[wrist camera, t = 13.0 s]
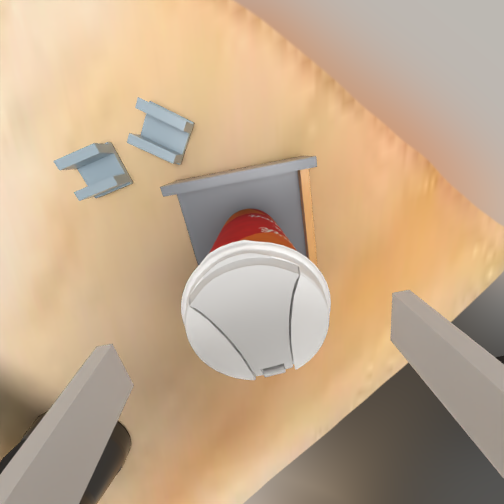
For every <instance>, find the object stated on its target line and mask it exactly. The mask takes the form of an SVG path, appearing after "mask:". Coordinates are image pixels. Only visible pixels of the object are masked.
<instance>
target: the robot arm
mask: <svg viewBox="0 0 504 504" xmlns="http://www.w3.org/2000/svg"><path fill="white" fill-rule="evenodd" d="M391 341H392V342H393V344H394V345H395V346H396V347H397V349H398V350H399V351H400V352H401V353H402V355H403V356H404V357H405V358H406V360H407V361H408V362H409V363H410V364H411V366H412V367H413V368H414V369H415V370H416V372H417V373H418V374H419V375H420V377H421V378H422V379H423V380H424V382H425V383H426V384H427V385H428V386H429V388H430V389H431V390H432V391H433V393H434V394H435V395H436V396H437V397H438V399H439V400H440V401H441V402H442V403H443V405H444V406H445V407H446V408H447V410H448V411H449V412H450V413H451V415H452V416H453V417H454V418H455V419H456V421H457V422H458V423H459V424H460V426H461V427H462V428H463V429H464V430H465V432H466V433H467V434H468V435H469V436H470V438H471V439H472V440H473V441H474V443H475V444H476V445H477V446H478V448H479V449H480V450H481V451H482V452H483V454H484V455H485V456H486V457H487V459H488V460H489V461H490V462H491V463H492V465H493V466H494V467H495V468H496V469H497V471H498V472H499V473H500V474H501V476H502V477H503V478H504V356H500V357H494V356H492V355H491V354H490V353H489V352H487V351H486V350H485V349H484V348H482V347H481V346H480V345H478V344H477V343H476V342H475V341H473V340H472V339H470V337H468V336H467V335H466V334H465V333H463V332H462V331H461V330H460V329H458V328H457V327H456V326H454V325H453V324H452V323H451V322H449V321H448V320H447V319H446V318H444V317H443V316H442V315H441V314H439V313H438V312H437V311H435V310H434V309H433V308H432V307H430V306H429V305H428V304H427V303H425V302H424V301H423V300H422V299H420V298H419V297H418V296H416V295H415V294H414V293H413V292H411V291H410V290H406V291H401V292H395V293H392V317H391ZM133 386H134V385H133V383H132V381H131V379H130V377H129V375H128V373H127V371H126V369H125V367H124V365H123V363H122V361H121V359H120V357H119V356H118V354H117V352H116V350H115V348H114V346H113V344H109V345H103V346H98V347H96V348H95V349H94V351H93V352H92V353H91V355H90V356H89V357H88V359H87V360H86V361H85V363H84V364H83V365H82V367H81V368H80V369H79V371H78V372H77V373H76V375H75V376H74V377H73V379H72V380H71V381H70V383H69V384H68V385H67V387H66V388H65V389H64V391H63V392H62V393H61V395H60V396H59V397H58V399H57V400H56V401H55V403H54V404H53V405H52V406H51V408H50V409H49V410H48V412H46V413H44V414H43V415H41V416H40V417H38V418H37V419H36V420H35V422H34V423H33V424H32V426H31V427H30V428H29V429H28V431H27V432H26V433H25V435H24V436H23V438H22V440H21V442H20V443H19V444H18V445H17V446H16V447H14V448H13V449H12V450H11V451H10V452H9V453H8V454H7V455H6V456H5V457H4V458H3V459H2V460H1V462H0V504H97V503H98V501H99V500H100V498H101V497H102V496H103V494H104V493H105V491H106V490H107V488H108V487H109V485H110V483H111V482H112V480H113V479H114V477H115V476H116V475H117V473H118V472H119V471H120V470H121V468H122V467H123V465H124V463H125V460H126V457H127V455H128V452H129V450H130V446H131V441H130V437H129V435H128V433H127V431H126V430H125V429H124V427H123V426H122V425H121V424H119V423H118V422H117V421H118V419H119V416H120V414H121V412H122V410H123V408H124V406H125V404H126V401H127V399H128V397H129V395H130V393H131V391H132V388H133Z"/></svg>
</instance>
